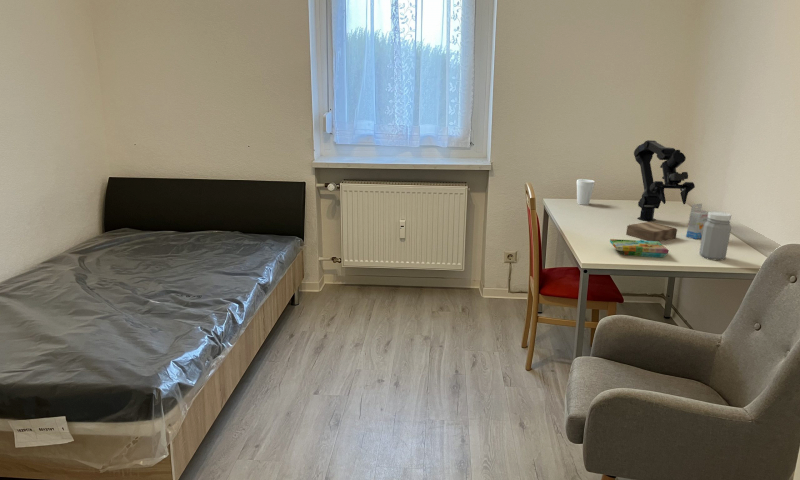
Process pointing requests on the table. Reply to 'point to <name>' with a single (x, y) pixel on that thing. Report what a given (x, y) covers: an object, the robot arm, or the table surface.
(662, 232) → the walnut box
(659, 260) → the table surface
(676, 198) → the table surface
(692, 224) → the ink box
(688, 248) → the table surface
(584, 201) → the foam cup
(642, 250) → the puzzle game
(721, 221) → the jar
